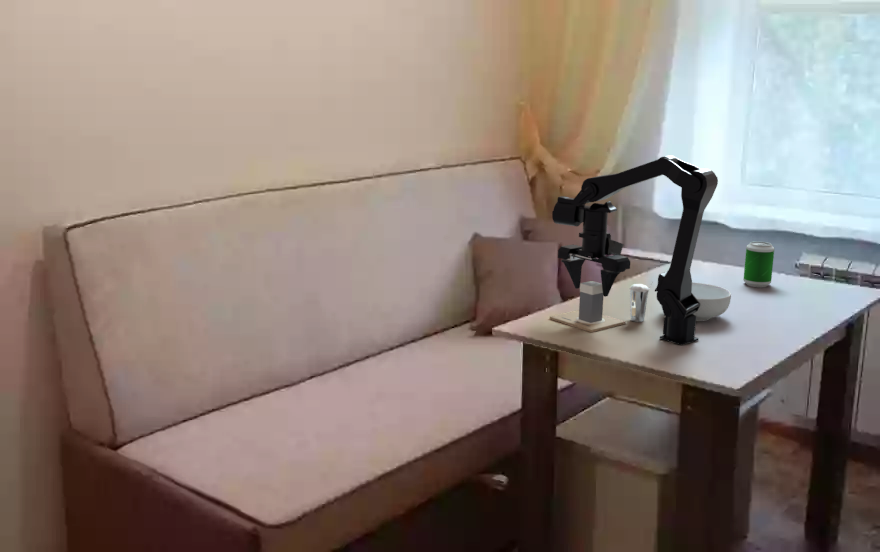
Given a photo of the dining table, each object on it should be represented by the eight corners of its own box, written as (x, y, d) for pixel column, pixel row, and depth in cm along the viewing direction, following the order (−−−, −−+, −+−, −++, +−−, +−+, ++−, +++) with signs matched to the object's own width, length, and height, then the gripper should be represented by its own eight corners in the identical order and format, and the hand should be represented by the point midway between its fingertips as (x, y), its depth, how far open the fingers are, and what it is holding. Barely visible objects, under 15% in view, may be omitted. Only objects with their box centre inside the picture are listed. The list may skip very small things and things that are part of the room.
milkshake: (650, 323, 234) (652, 283, 232) (627, 322, 235) (630, 282, 233) (650, 318, 238) (652, 279, 236) (628, 317, 239) (630, 278, 237)
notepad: (625, 323, 234) (625, 321, 233) (591, 332, 226) (591, 329, 226) (583, 311, 244) (583, 308, 244) (549, 318, 237) (549, 316, 237)
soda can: (774, 288, 270) (778, 246, 267) (747, 287, 270) (751, 246, 267) (765, 281, 277) (769, 241, 275) (739, 281, 277) (743, 240, 275)
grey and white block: (602, 320, 234) (604, 284, 232) (590, 323, 231) (592, 286, 229) (589, 316, 237) (591, 281, 235) (578, 319, 235) (580, 283, 232)
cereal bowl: (708, 330, 229) (711, 302, 227) (647, 317, 240) (649, 289, 238) (740, 316, 241) (743, 289, 240) (681, 304, 252) (683, 278, 250)
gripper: (647, 231, 227) (643, 295, 231) (589, 219, 241) (585, 280, 245) (616, 236, 220) (612, 302, 224) (557, 224, 234) (554, 286, 238)
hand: (591, 292), depth 233 cm, fingers open, 9 cm apart
